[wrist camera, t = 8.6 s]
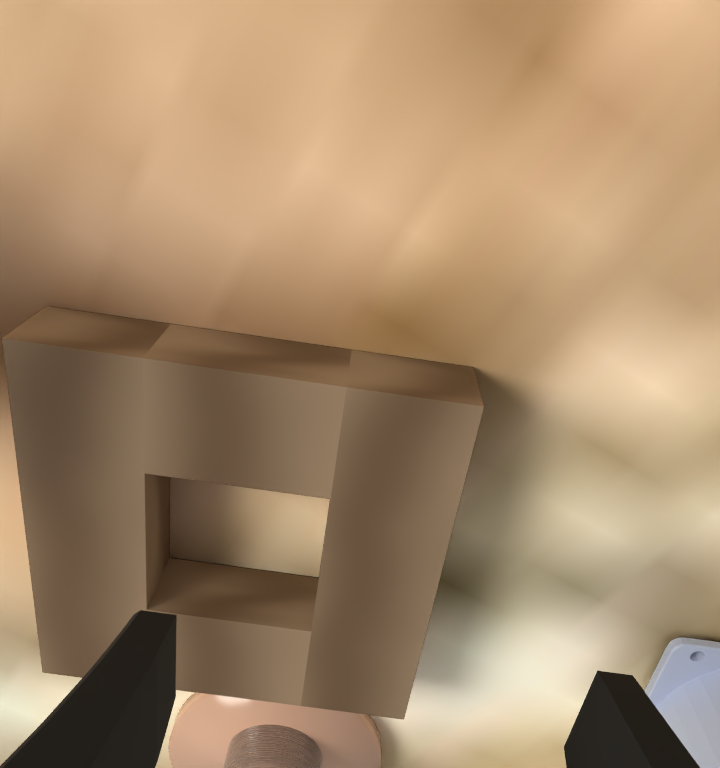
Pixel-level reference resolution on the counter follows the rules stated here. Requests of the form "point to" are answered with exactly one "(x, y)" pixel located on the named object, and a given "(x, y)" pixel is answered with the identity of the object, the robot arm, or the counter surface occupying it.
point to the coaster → (232, 715)
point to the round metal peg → (272, 749)
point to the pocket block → (244, 469)
